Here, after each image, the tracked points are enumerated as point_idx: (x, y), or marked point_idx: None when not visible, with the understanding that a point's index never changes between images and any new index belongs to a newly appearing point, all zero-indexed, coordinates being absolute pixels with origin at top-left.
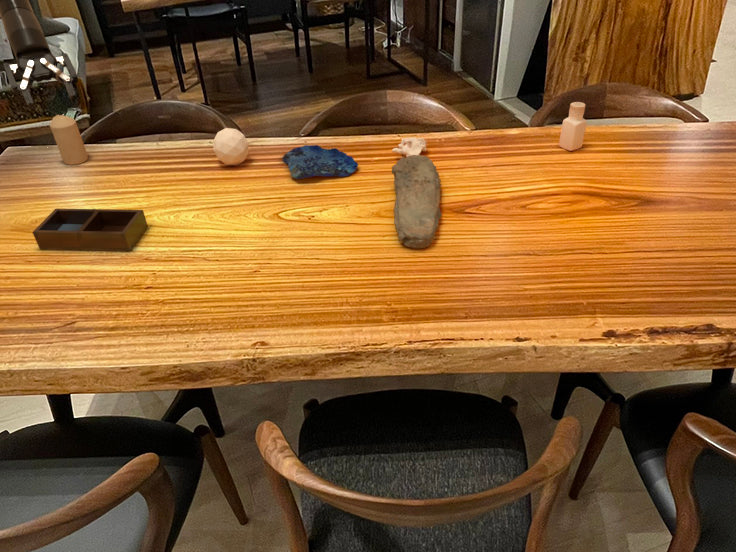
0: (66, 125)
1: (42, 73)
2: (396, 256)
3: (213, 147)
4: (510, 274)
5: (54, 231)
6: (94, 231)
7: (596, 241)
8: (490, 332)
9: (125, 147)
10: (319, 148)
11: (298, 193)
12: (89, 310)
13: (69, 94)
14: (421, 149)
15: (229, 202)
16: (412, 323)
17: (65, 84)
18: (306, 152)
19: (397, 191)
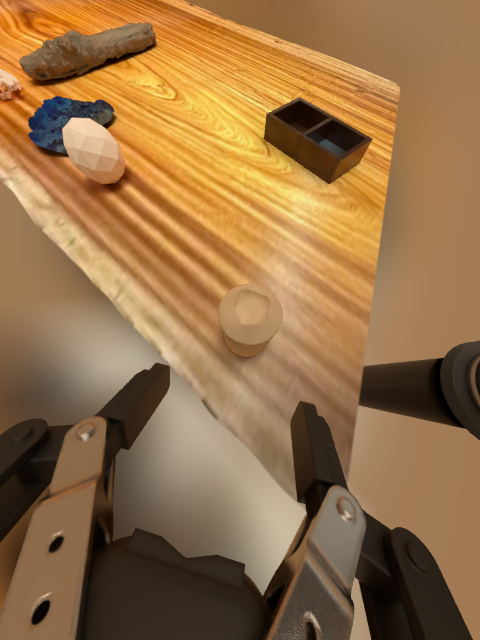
0: (252, 284)
1: (173, 576)
2: (167, 44)
3: (113, 156)
4: (146, 18)
5: (352, 129)
6: (320, 111)
7: (89, 11)
8: (195, 9)
9: (159, 323)
10: (33, 134)
11: (133, 108)
12: (345, 93)
13: (160, 377)
14: (2, 70)
15: (184, 129)
16: (213, 22)
17: (130, 411)
18: (47, 143)
19: (98, 47)
